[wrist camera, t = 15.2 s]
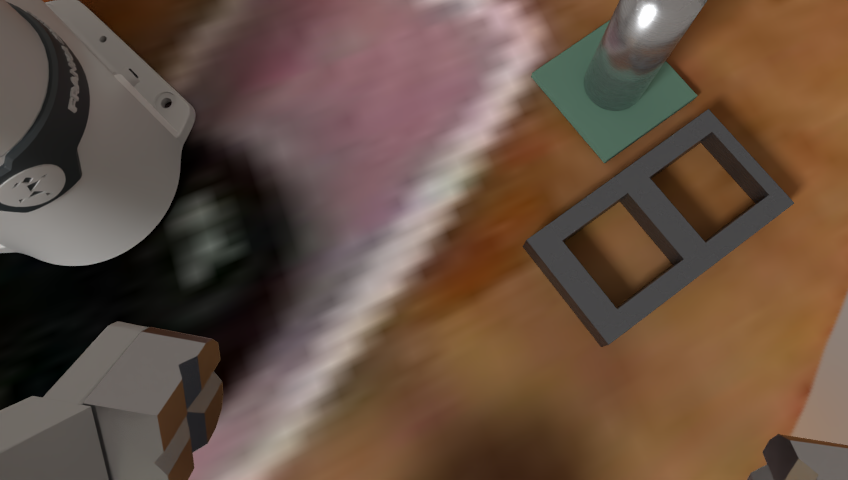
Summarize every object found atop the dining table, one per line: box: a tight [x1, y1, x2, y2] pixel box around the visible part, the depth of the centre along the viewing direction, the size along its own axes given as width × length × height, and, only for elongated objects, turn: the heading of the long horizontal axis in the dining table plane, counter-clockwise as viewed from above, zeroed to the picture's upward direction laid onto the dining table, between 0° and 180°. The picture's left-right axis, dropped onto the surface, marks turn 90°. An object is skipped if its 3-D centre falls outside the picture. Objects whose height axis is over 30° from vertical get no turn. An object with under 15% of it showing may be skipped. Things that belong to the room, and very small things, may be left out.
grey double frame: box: [523, 109, 794, 347], centre depth 45 cm, size 9×17×2 cm, turn 126°
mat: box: [531, 21, 697, 163], centre depth 49 cm, size 9×9×1 cm
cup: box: [584, 0, 707, 111], centre depth 43 cm, size 5×5×12 cm
